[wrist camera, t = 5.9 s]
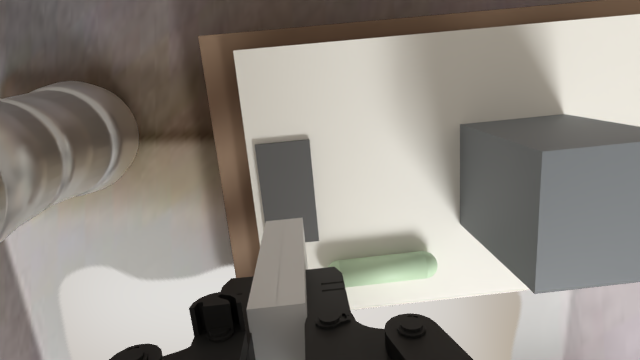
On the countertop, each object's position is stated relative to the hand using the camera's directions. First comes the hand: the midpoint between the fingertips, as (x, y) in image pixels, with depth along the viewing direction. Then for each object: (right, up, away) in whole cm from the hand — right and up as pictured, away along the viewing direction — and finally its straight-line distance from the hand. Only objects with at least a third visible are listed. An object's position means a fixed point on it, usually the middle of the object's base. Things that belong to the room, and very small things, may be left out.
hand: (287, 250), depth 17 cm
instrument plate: (+9, +4, +8) cm, 13 cm away
